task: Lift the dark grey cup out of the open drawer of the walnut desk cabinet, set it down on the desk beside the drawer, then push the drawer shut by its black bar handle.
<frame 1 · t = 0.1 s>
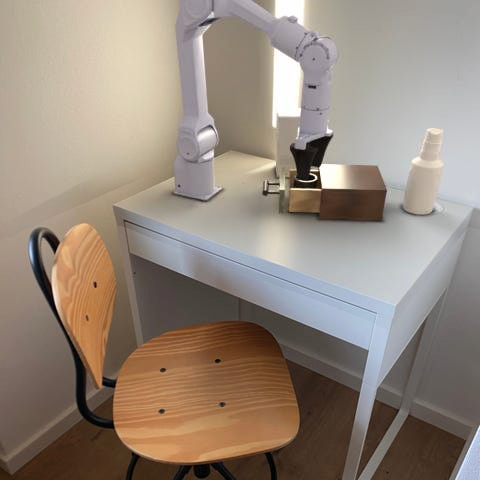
hand: (309, 172, 110), 10 cm above the table, tool pointing down, fingers open, 7 cm apart
drawer: (298, 190, 118), point 4 cm above the table, slide at 8.0 cm, touching dark grey cup
spray bottle: (417, 209, 119), on the table
dark grey cup: (304, 196, 119), point 2 cm above the table, touching drawer
cosmetic box: (286, 172, 137), on the table
cabinet: (347, 206, 120), on the table
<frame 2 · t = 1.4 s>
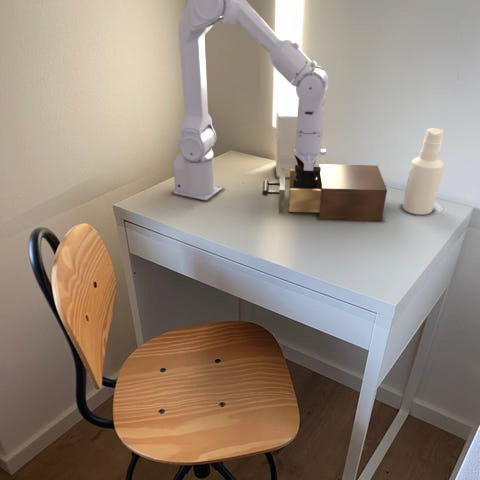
hand: (304, 189, 118), 4 cm above the table, tool pointing down, fingers open, 7 cm apart
drawer: (298, 190, 118), point 4 cm above the table, slide at 8.0 cm, touching dark grey cup, gripper
everything else where it was.
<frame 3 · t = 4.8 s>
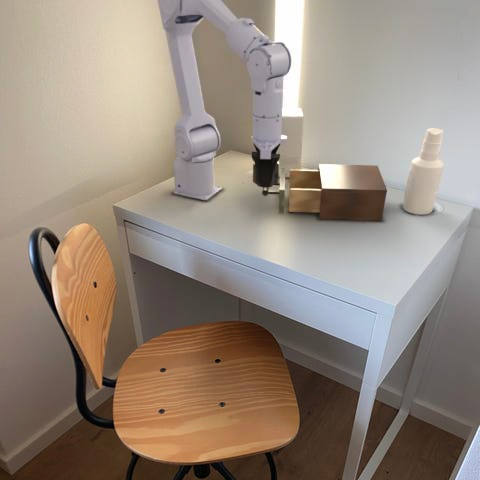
hand: (265, 180, 107), 10 cm above the table, tool pointing down, fingers closed on dark grey cup, 5 cm apart
drawer: (298, 190, 118), point 4 cm above the table, slide at 8.0 cm
dark grey cup: (265, 184, 108), point 9 cm above the table, touching gripper
everything else where it was.
when the fingers open (1 cm above the table, at t = 7.5 s): dark grey cup stays where it is, on the table.
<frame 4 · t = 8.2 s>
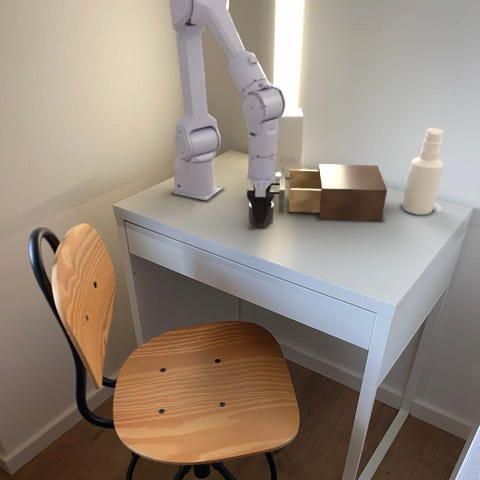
hand: (260, 214, 111), 2 cm above the table, tool pointing down, fingers open, 7 cm apart
dark grey cup: (260, 224, 113), on the table
everything else where it was.
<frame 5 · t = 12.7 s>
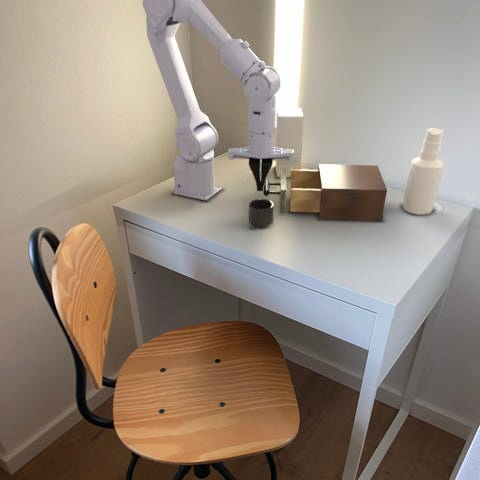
hand: (260, 189, 119), 4 cm above the table, tool pointing down, fingers closed
drawer: (299, 190, 118), point 4 cm above the table, slide at 7.7 cm, touching gripper
everything else where it was.
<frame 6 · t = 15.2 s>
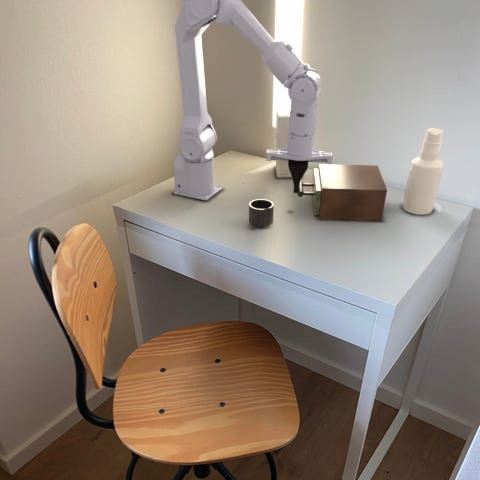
hand: (295, 191, 118), 3 cm above the table, tool pointing down, fingers closed, pressing on drawer
drawer: (333, 191, 118), point 4 cm above the table, slide at 0.0 cm, touching cabinet, gripper
everything else where it was.
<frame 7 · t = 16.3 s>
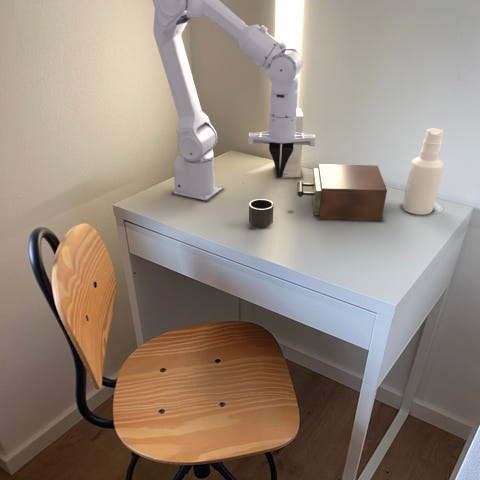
hand: (279, 175, 116), 7 cm above the table, tool pointing down, fingers closed
drawer: (333, 191, 118), point 4 cm above the table, slide at 0.0 cm, touching cabinet
everything else where it was.
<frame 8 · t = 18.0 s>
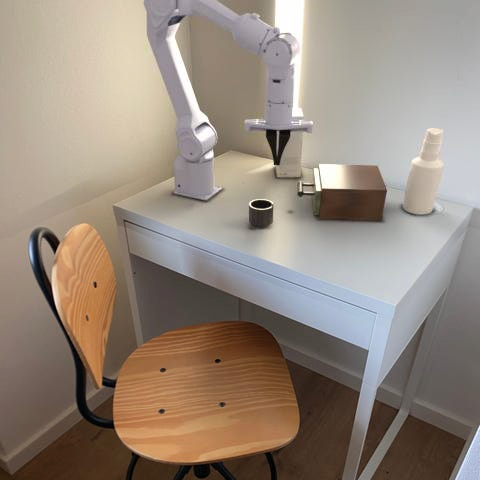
hand: (276, 163, 115), 10 cm above the table, tool pointing down, fingers closed
nothing on the table moved.
at the end: dark grey cup 0.1 cm from the target spot, on the table; dark grey cup tilted 0°; drawer slide at 0.0 cm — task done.
